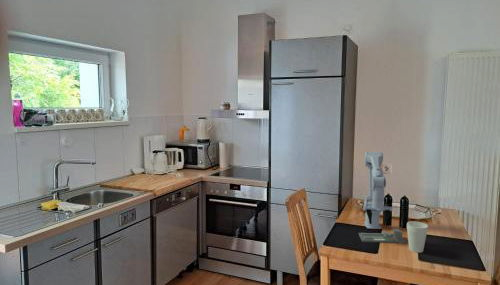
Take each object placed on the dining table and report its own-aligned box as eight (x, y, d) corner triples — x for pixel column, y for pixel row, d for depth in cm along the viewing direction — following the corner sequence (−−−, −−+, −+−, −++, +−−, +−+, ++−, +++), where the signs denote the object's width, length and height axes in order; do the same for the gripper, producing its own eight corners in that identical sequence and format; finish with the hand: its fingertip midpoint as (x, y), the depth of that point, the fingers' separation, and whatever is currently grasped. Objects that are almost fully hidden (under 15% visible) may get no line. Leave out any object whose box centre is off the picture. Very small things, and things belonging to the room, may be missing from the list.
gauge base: (358, 234, 192) (358, 226, 191) (399, 235, 190) (399, 227, 189) (362, 242, 182) (363, 233, 181) (406, 243, 180) (406, 234, 179)
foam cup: (424, 247, 175) (425, 222, 174) (428, 254, 166) (430, 228, 165) (404, 245, 178) (405, 220, 176) (407, 252, 169) (408, 227, 167)
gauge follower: (381, 234, 188) (381, 231, 187) (387, 235, 187) (387, 231, 187) (385, 239, 181) (385, 235, 181) (391, 239, 181) (391, 235, 181)
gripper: (366, 200, 180) (365, 226, 182) (394, 201, 179) (393, 226, 181) (362, 197, 187) (362, 221, 189) (390, 197, 186) (389, 221, 187)
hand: (377, 223), depth 185 cm, fingers open, 7 cm apart
